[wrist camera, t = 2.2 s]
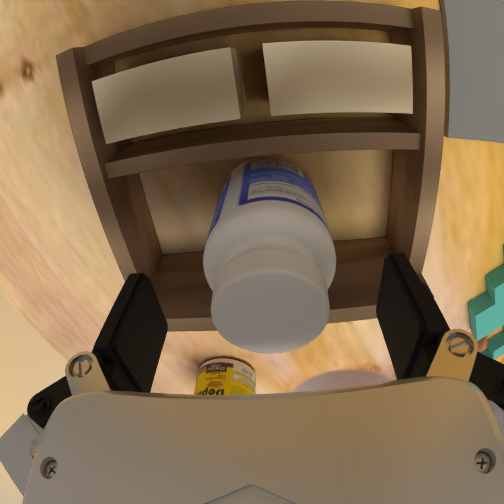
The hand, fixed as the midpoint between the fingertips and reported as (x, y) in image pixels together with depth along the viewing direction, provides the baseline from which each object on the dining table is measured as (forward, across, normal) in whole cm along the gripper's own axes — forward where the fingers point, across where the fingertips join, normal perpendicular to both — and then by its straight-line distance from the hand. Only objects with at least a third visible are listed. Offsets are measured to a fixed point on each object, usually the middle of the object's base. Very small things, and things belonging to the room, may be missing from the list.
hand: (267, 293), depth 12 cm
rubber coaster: (+7, -16, -9) cm, 20 cm away
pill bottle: (+8, 0, -1) cm, 8 cm away
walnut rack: (+8, 0, -4) cm, 9 cm away
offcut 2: (+8, -4, -8) cm, 11 cm away
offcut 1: (+8, +3, -8) cm, 11 cm away
